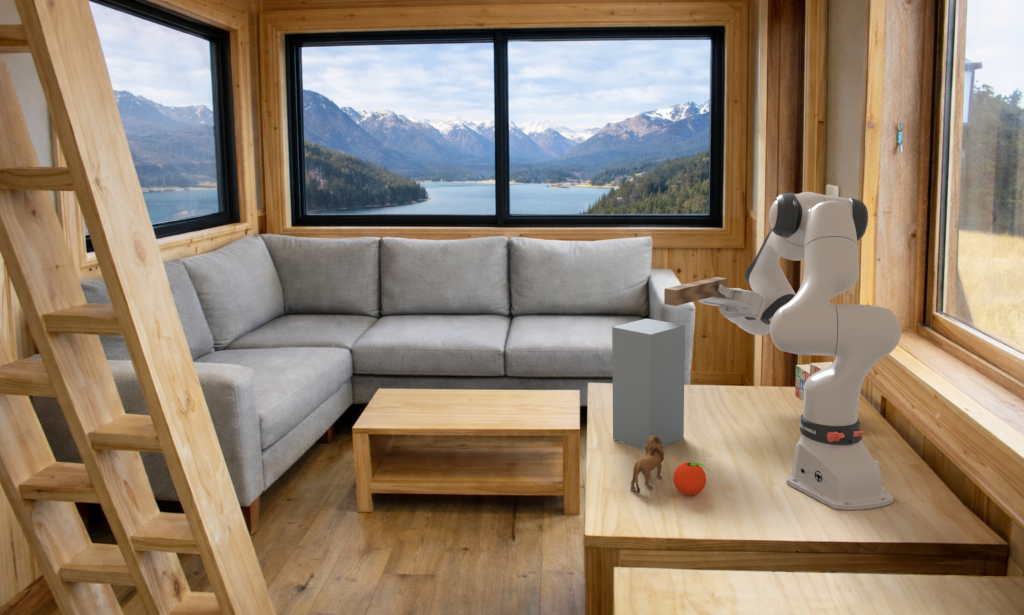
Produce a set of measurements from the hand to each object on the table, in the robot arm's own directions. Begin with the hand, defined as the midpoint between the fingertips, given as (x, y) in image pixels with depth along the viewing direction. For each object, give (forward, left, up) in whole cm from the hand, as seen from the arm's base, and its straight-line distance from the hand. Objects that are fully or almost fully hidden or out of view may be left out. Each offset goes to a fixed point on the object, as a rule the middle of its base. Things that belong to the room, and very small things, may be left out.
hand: (710, 286), depth 222 cm
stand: (-13, +22, -35) cm, 44 cm away
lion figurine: (-38, +32, -36) cm, 61 cm away
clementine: (-46, +25, -36) cm, 63 cm away
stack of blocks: (-2, -33, -36) cm, 49 cm away
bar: (-3, +5, -2) cm, 6 cm away
